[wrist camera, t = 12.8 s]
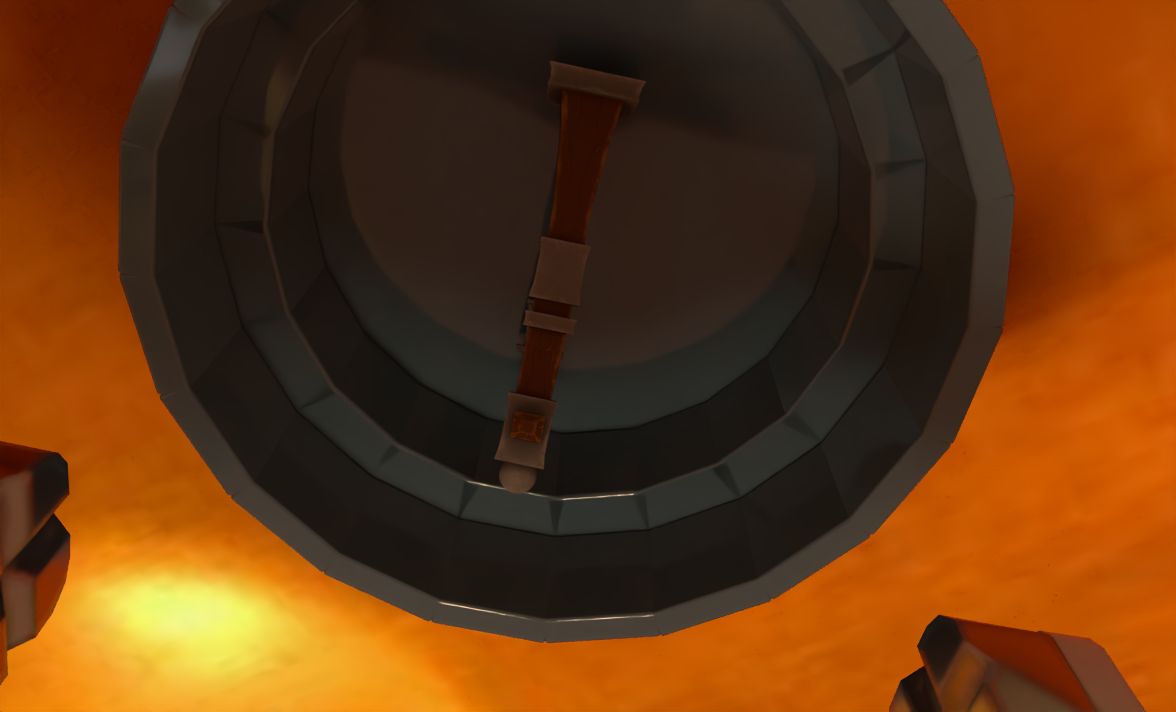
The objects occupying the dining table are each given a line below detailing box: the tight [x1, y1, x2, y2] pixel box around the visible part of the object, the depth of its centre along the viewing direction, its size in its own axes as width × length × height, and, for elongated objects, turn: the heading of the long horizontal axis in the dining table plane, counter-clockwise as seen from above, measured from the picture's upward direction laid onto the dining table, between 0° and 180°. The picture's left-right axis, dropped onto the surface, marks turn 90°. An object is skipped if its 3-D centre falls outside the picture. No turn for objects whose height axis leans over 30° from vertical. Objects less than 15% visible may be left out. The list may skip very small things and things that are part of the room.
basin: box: [118, 0, 1015, 643], centre depth 19 cm, size 14×14×6 cm
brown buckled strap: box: [494, 61, 646, 494], centre depth 20 cm, size 2×8×4 cm, turn 168°
